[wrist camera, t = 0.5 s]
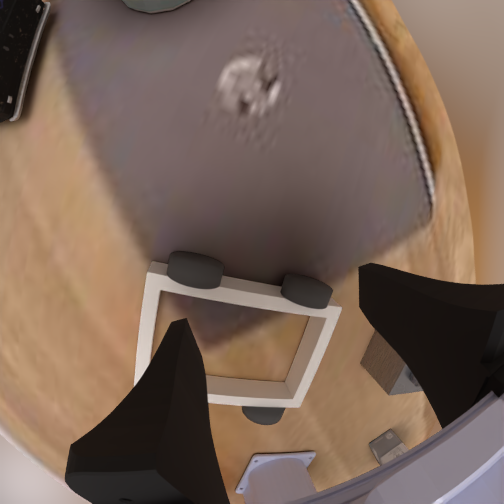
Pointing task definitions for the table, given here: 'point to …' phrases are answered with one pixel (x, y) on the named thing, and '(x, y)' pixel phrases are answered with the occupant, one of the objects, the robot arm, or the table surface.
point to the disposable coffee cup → (154, 5)
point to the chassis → (253, 295)
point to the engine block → (388, 367)
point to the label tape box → (387, 447)
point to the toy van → (18, 50)
